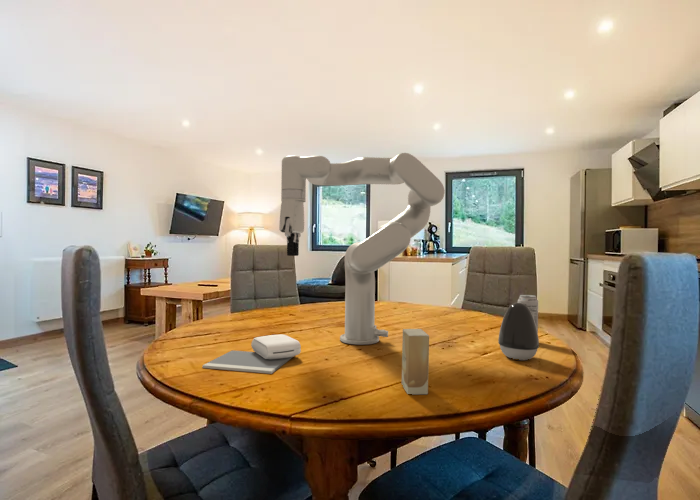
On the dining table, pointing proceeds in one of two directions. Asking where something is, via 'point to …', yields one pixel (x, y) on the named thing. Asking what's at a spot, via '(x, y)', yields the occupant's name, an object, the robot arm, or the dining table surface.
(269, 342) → the photo printer
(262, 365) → the mat
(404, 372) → the skincare box
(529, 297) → the energy drink can
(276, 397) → the dining table surface
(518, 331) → the grey egg shaped device
